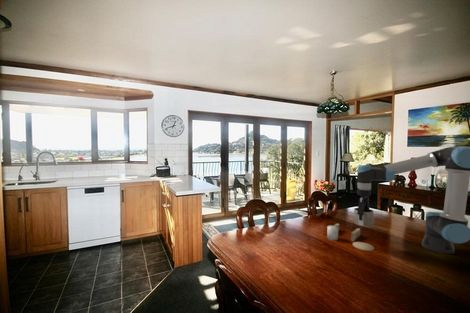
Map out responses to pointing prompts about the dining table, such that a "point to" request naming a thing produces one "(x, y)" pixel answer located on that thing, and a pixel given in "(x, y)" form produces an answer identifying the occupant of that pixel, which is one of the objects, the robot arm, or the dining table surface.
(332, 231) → the white cylinder
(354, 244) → the mat
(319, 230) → the dining table surface
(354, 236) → the cradle
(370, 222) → the planter
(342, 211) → the dining table surface
